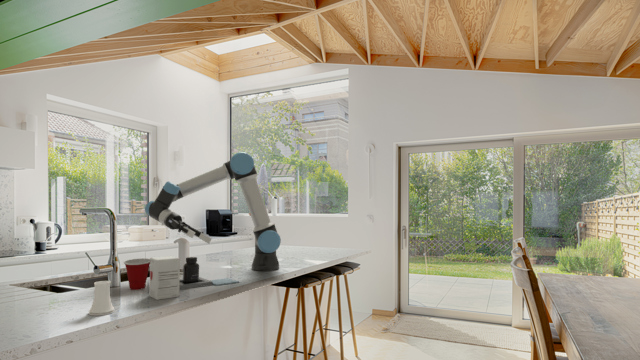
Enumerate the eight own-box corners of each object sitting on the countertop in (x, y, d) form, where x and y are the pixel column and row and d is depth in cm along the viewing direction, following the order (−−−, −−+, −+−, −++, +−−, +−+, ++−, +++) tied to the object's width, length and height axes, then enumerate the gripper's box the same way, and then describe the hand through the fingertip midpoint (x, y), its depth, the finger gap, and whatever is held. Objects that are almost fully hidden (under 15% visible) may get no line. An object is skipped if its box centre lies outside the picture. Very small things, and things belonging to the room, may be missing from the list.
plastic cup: (118, 291, 168) (119, 262, 169) (129, 286, 179) (130, 258, 180) (145, 291, 169) (145, 261, 169) (154, 286, 179) (155, 258, 180)
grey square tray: (199, 280, 192) (199, 277, 192) (212, 284, 181) (212, 281, 181) (169, 284, 183) (169, 280, 183) (181, 289, 172) (181, 285, 173)
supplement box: (148, 296, 160) (149, 257, 161) (171, 292, 166) (172, 255, 166) (155, 300, 153) (156, 259, 154) (179, 296, 159) (180, 257, 159)
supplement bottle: (196, 286, 179) (196, 258, 180) (180, 286, 179) (180, 258, 180) (200, 283, 186) (201, 256, 186) (185, 283, 186) (186, 256, 187)
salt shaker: (101, 316, 131) (102, 284, 131) (83, 314, 133) (84, 283, 134) (119, 310, 138) (120, 280, 139) (101, 309, 140) (102, 279, 141)
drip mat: (228, 279, 195) (228, 278, 195) (239, 282, 186) (239, 281, 186) (206, 282, 188) (206, 280, 188) (216, 285, 179) (216, 284, 179)
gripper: (182, 232, 209) (212, 250, 200) (149, 220, 187) (181, 240, 178) (190, 219, 210) (220, 236, 201) (158, 205, 188) (190, 224, 179)
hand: (202, 238), depth 190 cm, fingers open, 13 cm apart
